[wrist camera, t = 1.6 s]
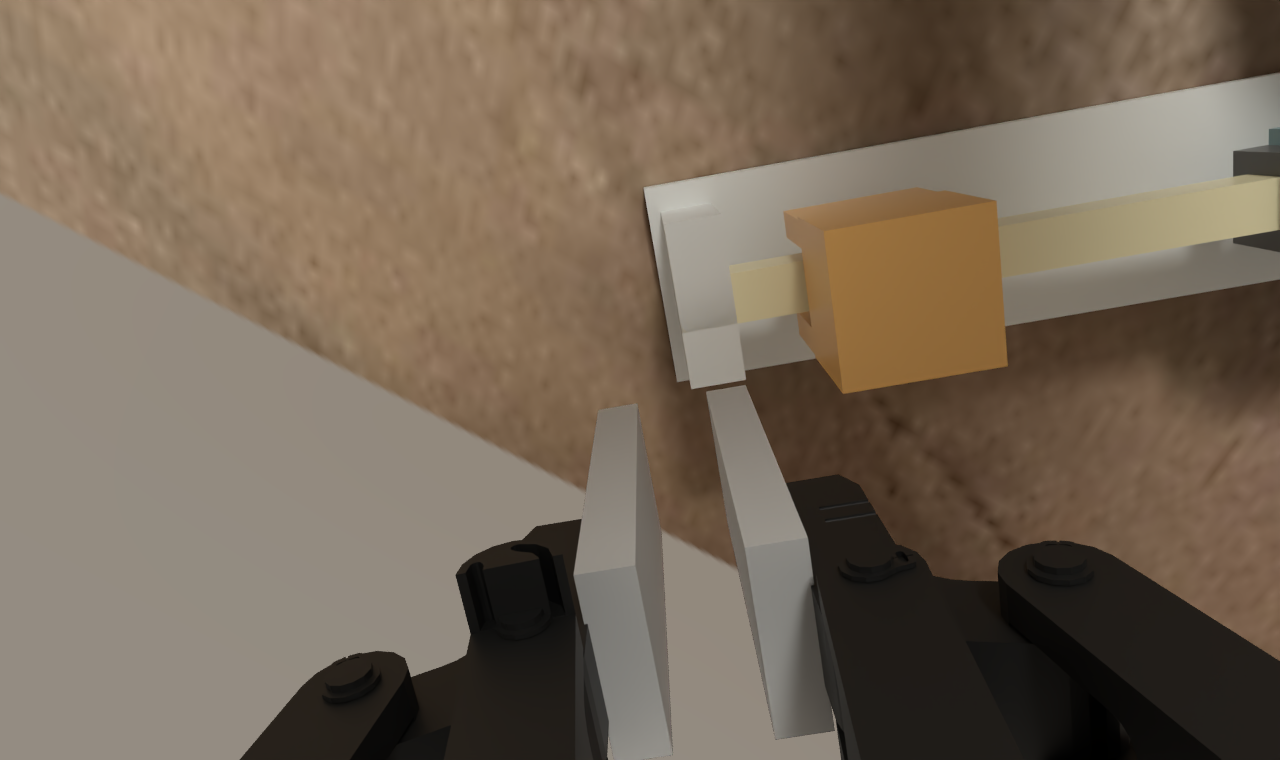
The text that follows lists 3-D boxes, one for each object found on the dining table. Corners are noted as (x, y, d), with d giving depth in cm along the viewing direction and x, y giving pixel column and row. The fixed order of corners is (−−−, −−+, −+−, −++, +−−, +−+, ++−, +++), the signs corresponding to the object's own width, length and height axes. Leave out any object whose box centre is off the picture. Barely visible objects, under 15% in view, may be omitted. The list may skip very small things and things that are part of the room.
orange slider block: (782, 208, 33) (823, 231, 26) (916, 184, 33) (996, 200, 26) (800, 337, 35) (843, 394, 27) (928, 315, 34) (1007, 366, 27)
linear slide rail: (643, 187, 36) (644, 200, 29) (1385, 52, 34) (1561, 34, 28) (676, 376, 38) (683, 429, 31) (1376, 257, 37) (1537, 285, 30)
